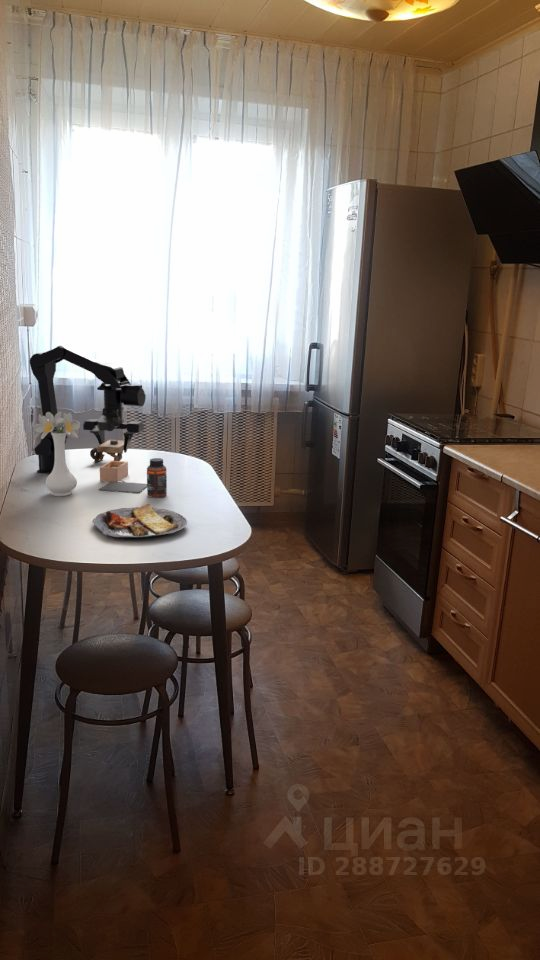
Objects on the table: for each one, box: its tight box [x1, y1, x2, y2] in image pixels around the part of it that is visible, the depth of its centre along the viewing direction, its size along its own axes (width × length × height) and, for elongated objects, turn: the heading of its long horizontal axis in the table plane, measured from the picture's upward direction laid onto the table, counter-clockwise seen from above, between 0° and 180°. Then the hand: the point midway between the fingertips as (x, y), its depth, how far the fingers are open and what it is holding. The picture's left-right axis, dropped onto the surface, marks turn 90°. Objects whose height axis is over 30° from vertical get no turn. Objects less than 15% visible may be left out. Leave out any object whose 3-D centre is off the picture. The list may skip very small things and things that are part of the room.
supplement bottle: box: [146, 457, 168, 498], centre depth 233 cm, size 6×6×11 cm
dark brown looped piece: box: [89, 447, 124, 463], centre depth 273 cm, size 12×10×8 cm
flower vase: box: [33, 411, 81, 497], centre depth 230 cm, size 13×18×25 cm
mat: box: [98, 481, 147, 494], centre depth 242 cm, size 13×10×1 cm
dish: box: [99, 460, 129, 483], centre depth 253 cm, size 6×10×4 cm, turn 171°
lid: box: [96, 439, 131, 454], centre depth 250 cm, size 7×11×3 cm, turn 171°
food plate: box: [91, 503, 188, 539], centre depth 203 cm, size 25×23×4 cm
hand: (114, 451), depth 251 cm, fingers closed on lid, 7 cm apart
